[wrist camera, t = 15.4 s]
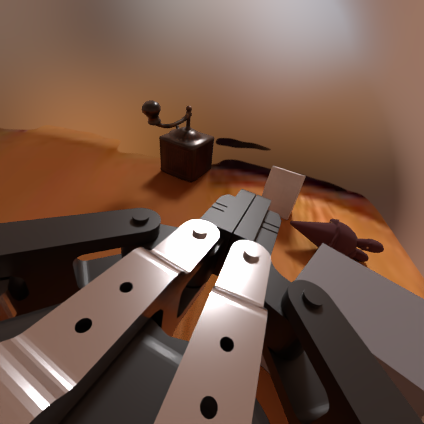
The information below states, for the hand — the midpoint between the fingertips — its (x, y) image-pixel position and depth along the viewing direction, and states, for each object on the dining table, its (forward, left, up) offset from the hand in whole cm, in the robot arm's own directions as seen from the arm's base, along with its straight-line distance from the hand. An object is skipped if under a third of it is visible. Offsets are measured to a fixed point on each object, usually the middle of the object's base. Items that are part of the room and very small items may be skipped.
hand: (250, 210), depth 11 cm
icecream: (+29, +3, -23) cm, 38 cm away
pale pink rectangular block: (+31, +16, -23) cm, 42 cm away
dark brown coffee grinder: (+21, +41, -23) cm, 52 cm away
